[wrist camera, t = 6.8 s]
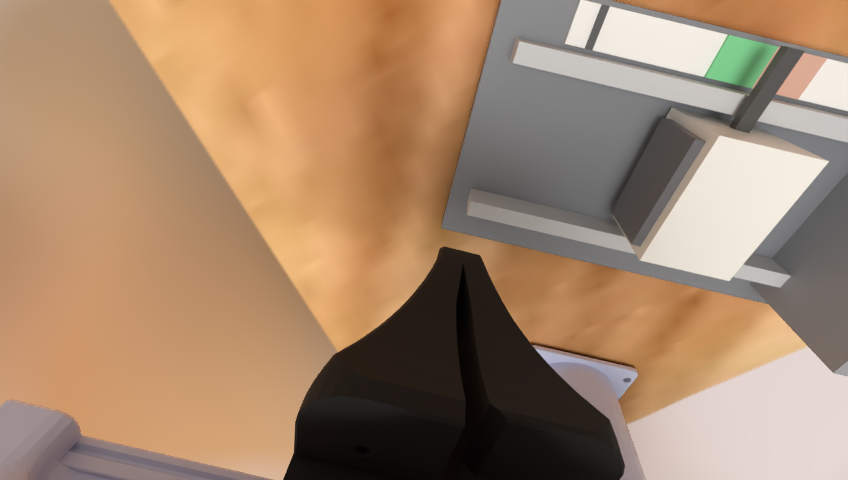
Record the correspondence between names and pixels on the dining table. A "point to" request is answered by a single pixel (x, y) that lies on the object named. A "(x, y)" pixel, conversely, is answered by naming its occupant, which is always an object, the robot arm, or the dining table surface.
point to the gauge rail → (629, 136)
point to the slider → (714, 184)
